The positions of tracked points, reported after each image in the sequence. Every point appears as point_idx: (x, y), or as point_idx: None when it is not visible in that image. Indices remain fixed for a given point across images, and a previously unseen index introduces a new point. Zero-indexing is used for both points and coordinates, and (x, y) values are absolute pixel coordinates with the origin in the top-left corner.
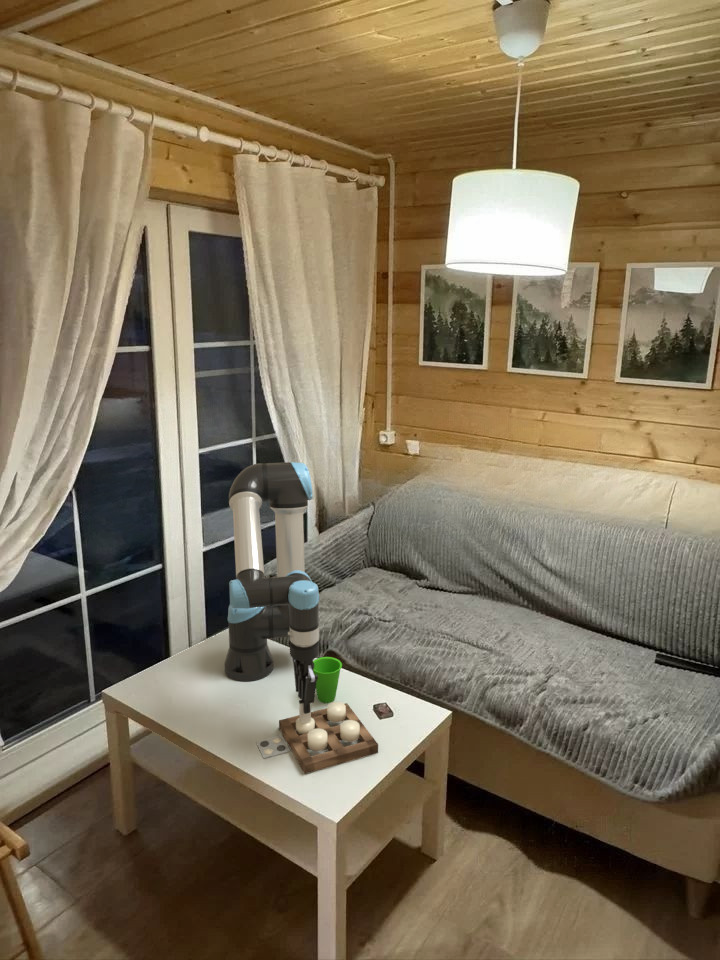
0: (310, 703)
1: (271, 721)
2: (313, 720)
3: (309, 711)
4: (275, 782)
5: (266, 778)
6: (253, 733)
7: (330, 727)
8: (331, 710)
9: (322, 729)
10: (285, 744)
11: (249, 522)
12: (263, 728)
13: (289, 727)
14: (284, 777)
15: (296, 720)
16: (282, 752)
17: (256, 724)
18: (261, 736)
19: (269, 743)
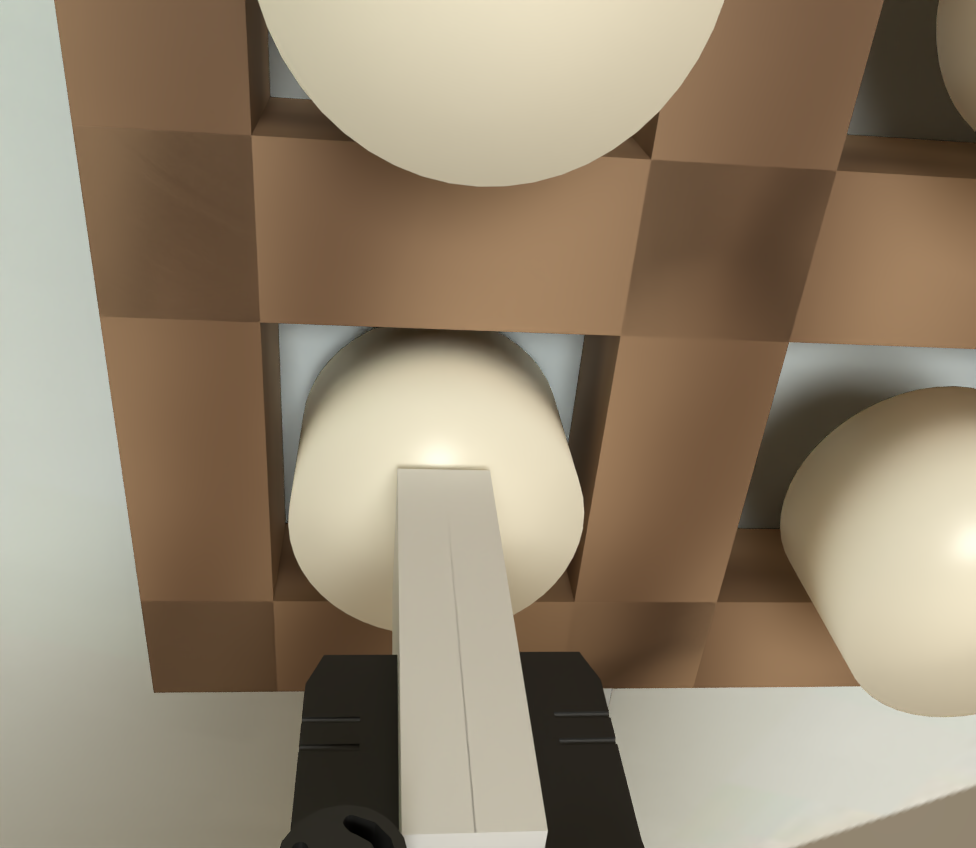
0: (531, 747)
1: (8, 638)
2: (467, 415)
3: (597, 690)
4: (893, 797)
5: (808, 832)
6: (174, 803)
7: (651, 158)
8: (560, 132)
9: (956, 514)
10: None
11: None
12: (120, 724)
13: (356, 635)
14: (894, 739)
15: (345, 609)
16: (608, 693)
17: (23, 759)
18: (251, 762)
19: None
